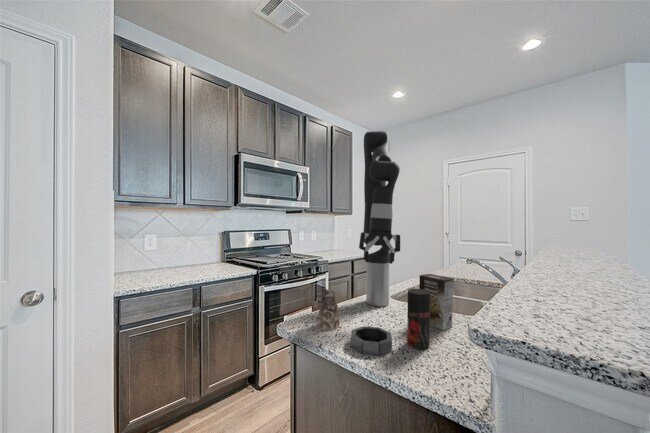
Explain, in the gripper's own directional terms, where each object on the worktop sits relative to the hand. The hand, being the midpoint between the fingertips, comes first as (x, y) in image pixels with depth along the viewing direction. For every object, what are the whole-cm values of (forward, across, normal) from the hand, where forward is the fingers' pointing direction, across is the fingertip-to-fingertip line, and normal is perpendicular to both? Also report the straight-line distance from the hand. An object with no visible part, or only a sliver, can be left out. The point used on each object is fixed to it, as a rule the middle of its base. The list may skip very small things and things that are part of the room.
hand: (378, 262), depth 99 cm
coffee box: (+19, -19, +5) cm, 27 cm away
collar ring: (+20, +5, +21) cm, 30 cm away
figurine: (+21, +17, +8) cm, 28 cm away
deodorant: (+20, -8, +21) cm, 30 cm away
